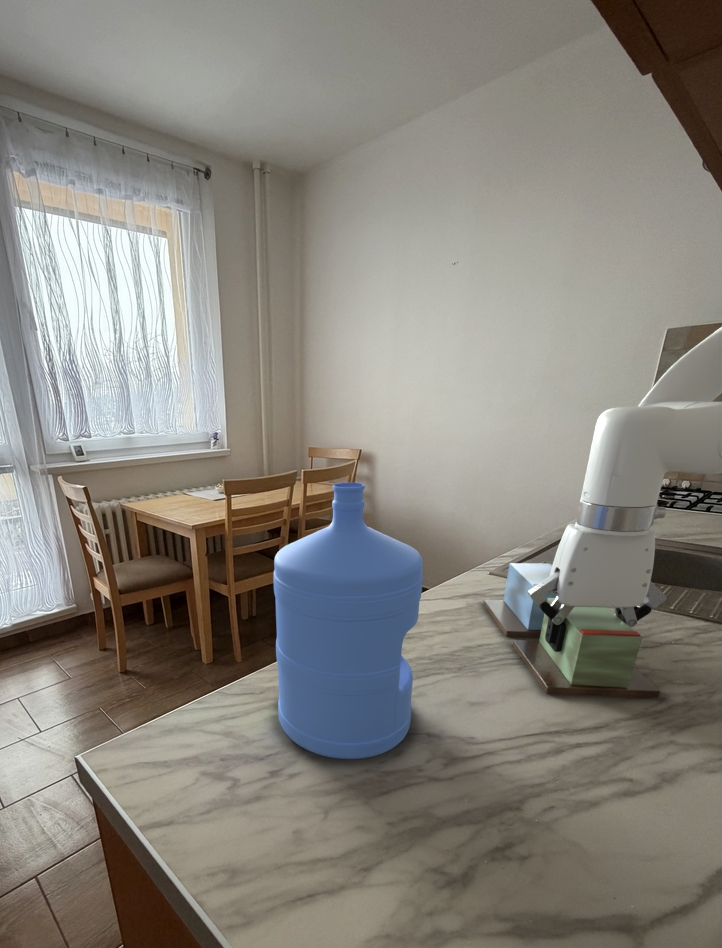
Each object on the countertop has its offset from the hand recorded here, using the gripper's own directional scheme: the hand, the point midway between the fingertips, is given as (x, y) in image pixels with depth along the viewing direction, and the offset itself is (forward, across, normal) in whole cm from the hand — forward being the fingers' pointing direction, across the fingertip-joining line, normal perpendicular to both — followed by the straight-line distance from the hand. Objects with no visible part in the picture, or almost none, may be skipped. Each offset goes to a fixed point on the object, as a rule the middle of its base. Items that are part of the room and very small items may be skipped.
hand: (583, 647), depth 65 cm
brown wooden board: (+4, 0, 0) cm, 4 cm away
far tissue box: (+2, +1, -16) cm, 16 cm away
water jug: (+4, +32, +14) cm, 35 cm away
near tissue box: (+2, 0, 0) cm, 2 cm away
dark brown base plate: (+4, +1, -16) cm, 16 cm away
